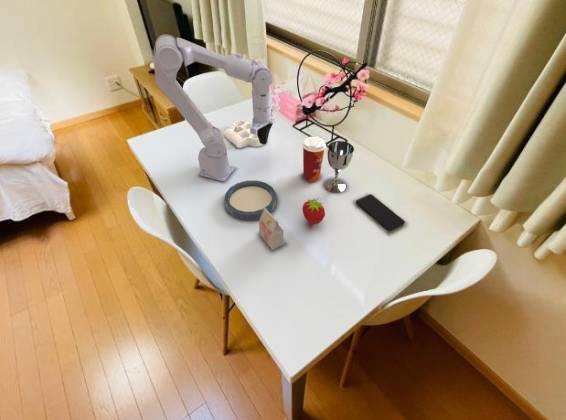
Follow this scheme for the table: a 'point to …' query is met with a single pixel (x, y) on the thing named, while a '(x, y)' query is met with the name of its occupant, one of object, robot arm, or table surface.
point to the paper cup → (312, 157)
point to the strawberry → (313, 211)
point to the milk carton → (270, 230)
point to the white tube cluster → (241, 134)
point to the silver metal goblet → (338, 163)
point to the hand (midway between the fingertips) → (263, 143)
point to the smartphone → (380, 212)
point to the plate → (250, 199)
